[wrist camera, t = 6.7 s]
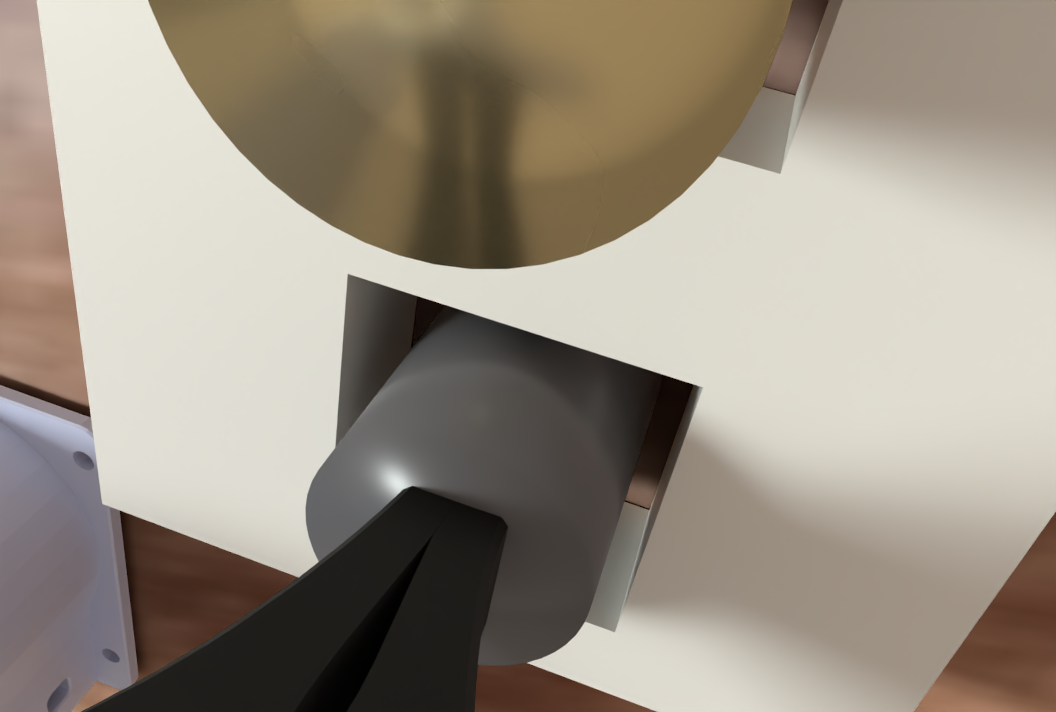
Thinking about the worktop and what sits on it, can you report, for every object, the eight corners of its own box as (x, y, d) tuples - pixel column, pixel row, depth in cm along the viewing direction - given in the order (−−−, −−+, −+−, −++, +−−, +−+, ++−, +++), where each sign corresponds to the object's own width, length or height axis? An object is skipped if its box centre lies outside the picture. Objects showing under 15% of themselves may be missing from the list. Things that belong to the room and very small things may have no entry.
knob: (630, 480, 17) (559, 702, 13) (429, 412, 18) (300, 604, 13) (690, 298, 15) (626, 500, 11) (455, 226, 15) (310, 391, 11)
